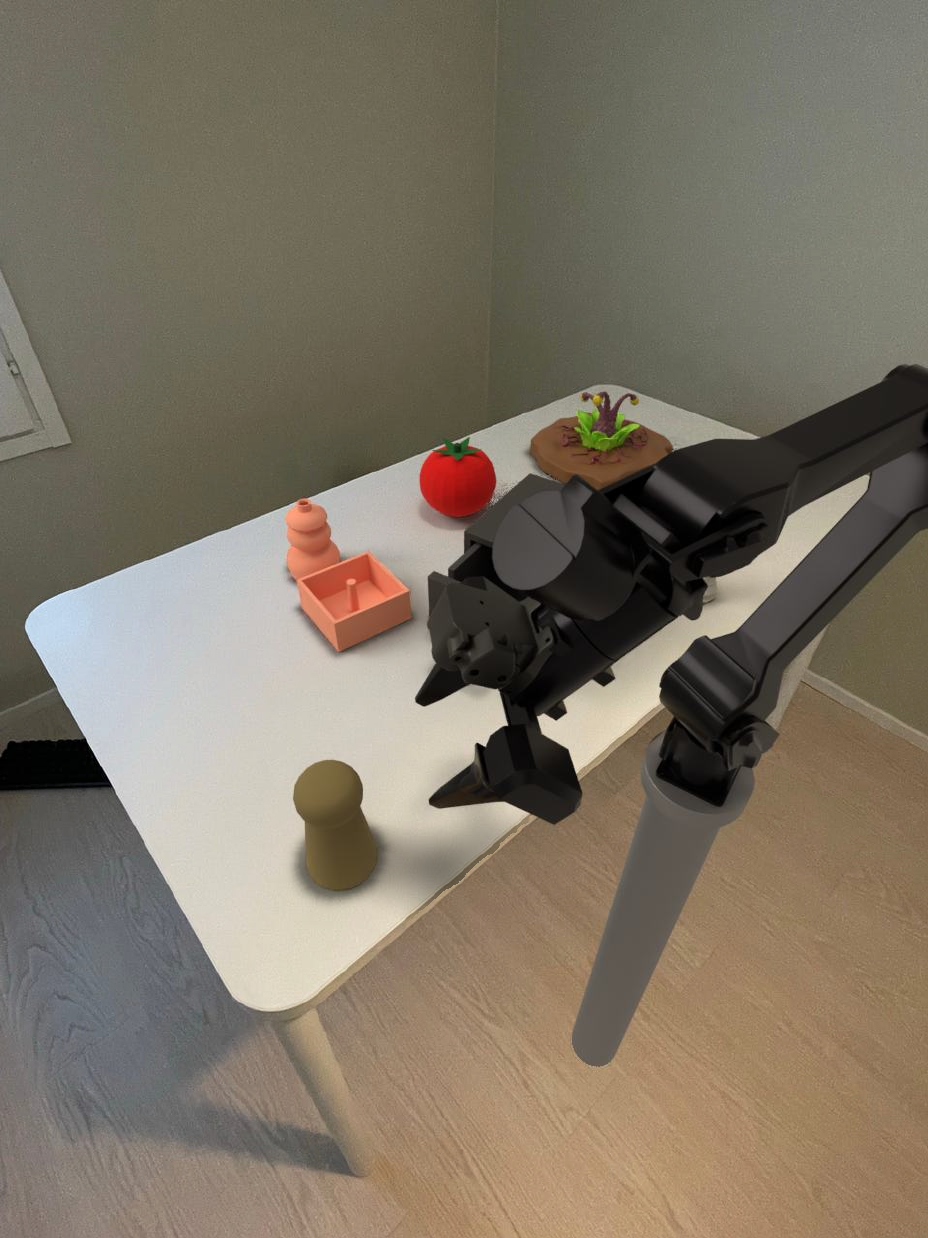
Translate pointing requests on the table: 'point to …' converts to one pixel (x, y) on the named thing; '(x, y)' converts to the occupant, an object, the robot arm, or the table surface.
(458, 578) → the dark grey drawer
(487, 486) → the tomato
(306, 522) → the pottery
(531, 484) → the dark grey drawer box
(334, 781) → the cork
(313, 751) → the table surface
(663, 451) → the plant
